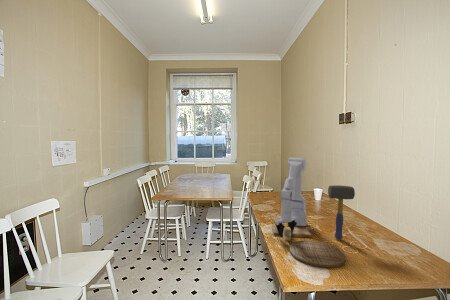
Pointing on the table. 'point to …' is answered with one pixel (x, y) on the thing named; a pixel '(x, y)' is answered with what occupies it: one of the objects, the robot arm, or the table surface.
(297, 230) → the board
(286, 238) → the beige block with handle
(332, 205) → the table surface
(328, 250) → the trivet
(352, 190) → the rubber mallet
